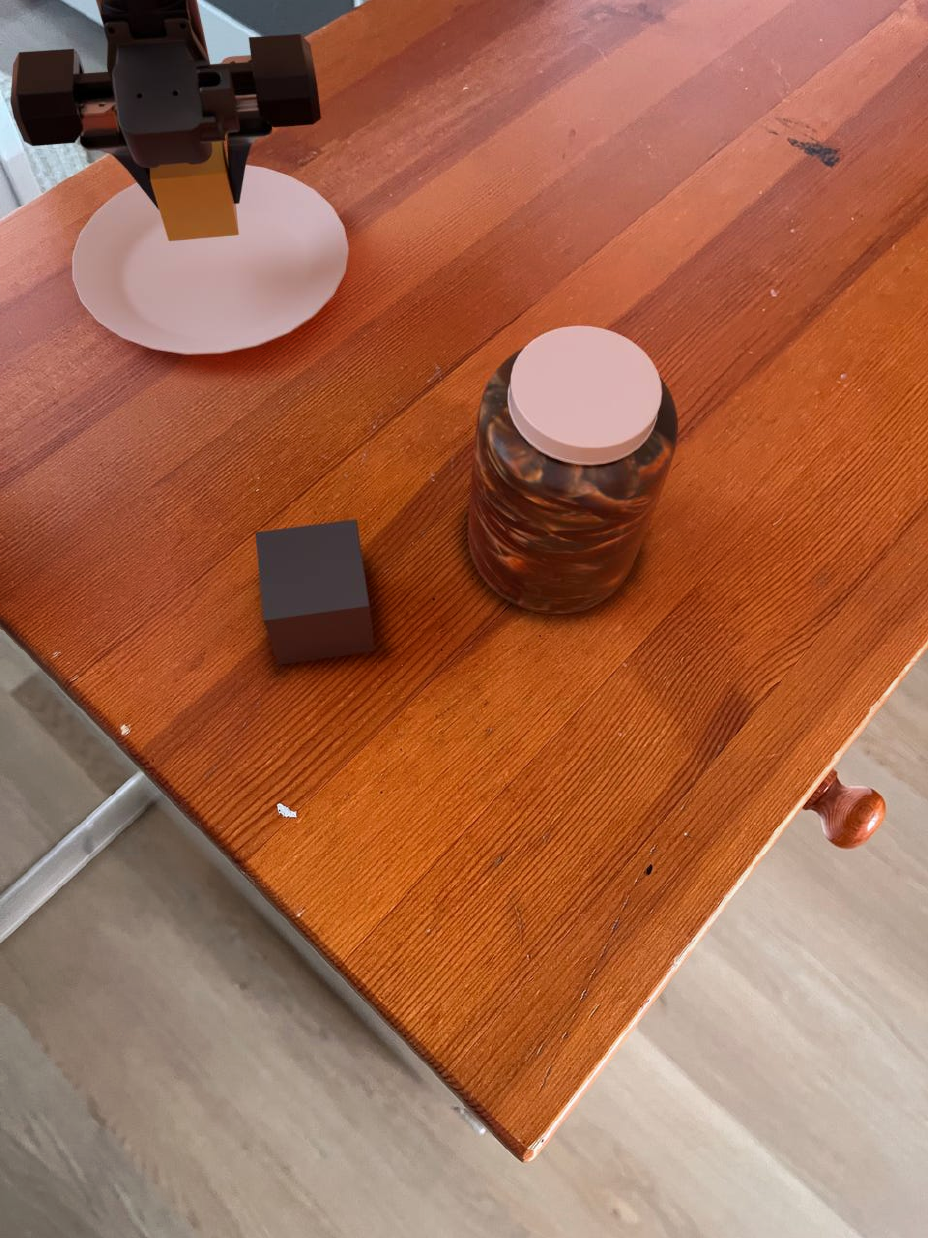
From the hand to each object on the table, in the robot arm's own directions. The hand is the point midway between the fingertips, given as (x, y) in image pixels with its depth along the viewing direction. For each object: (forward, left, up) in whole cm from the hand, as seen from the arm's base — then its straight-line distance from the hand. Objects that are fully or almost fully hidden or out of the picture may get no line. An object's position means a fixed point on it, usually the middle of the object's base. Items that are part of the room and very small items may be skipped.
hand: (198, 203), depth 65 cm
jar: (+32, -14, -7) cm, 36 cm away
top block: (0, 0, -1) cm, 1 cm away
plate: (0, 0, -7) cm, 7 cm away
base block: (+20, -25, -6) cm, 33 cm away
